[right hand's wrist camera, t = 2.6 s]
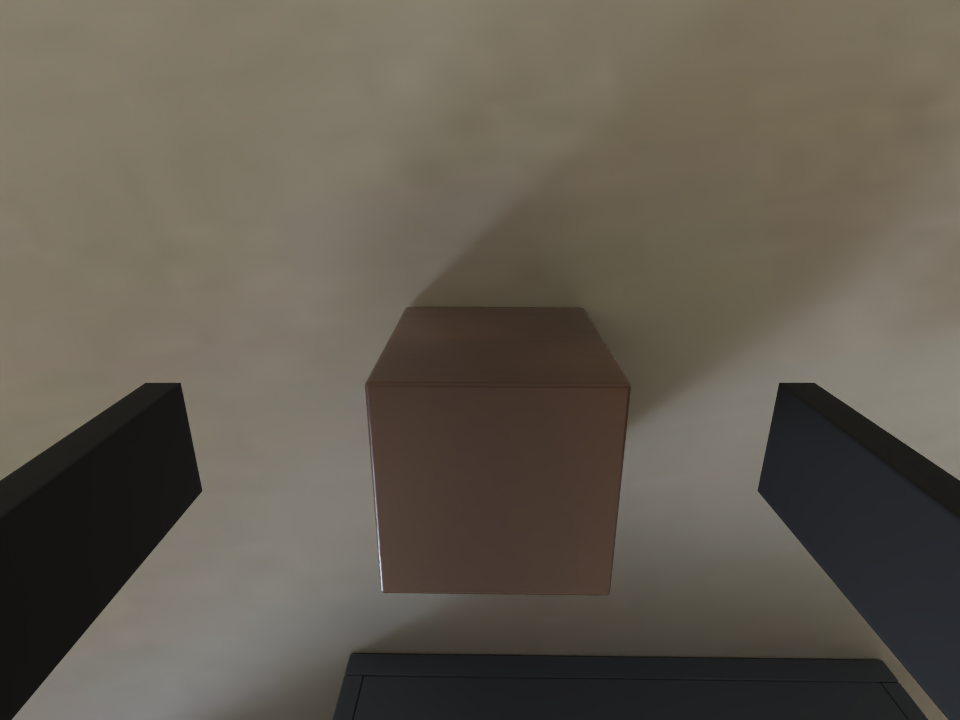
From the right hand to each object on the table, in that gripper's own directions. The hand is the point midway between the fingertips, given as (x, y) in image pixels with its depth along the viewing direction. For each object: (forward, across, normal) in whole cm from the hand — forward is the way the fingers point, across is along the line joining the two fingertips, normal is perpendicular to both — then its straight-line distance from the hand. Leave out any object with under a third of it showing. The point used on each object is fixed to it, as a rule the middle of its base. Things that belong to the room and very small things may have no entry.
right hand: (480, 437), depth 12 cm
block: (+2, 0, 0) cm, 3 cm away
